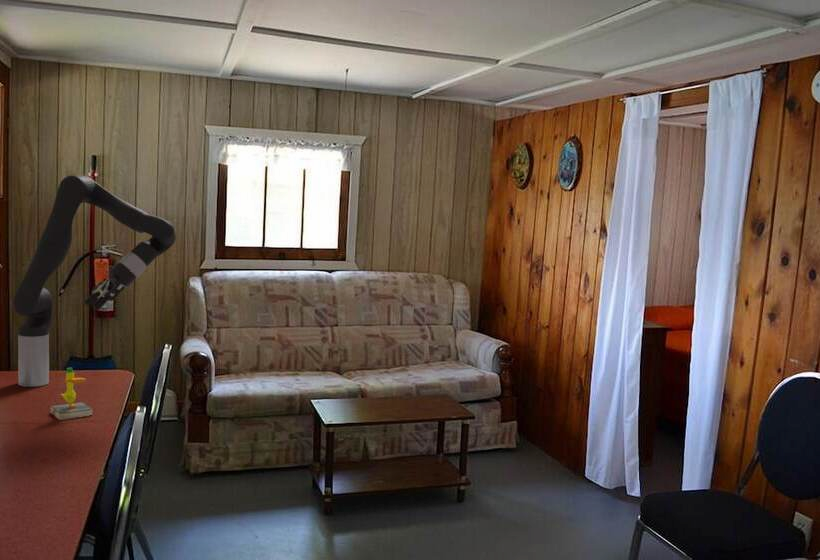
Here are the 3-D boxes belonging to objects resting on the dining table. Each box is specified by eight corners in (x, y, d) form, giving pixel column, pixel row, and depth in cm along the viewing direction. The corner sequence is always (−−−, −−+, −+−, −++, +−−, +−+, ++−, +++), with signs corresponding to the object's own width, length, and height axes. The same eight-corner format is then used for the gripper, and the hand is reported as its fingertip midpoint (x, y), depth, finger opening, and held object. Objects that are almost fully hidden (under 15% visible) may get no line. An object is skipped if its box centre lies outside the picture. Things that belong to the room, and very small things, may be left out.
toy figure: (85, 405, 212) (85, 366, 211) (85, 408, 209) (85, 368, 208) (60, 406, 210) (60, 366, 208) (59, 409, 206) (59, 369, 205)
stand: (50, 412, 210) (50, 406, 209) (82, 408, 216) (82, 401, 215) (59, 420, 203) (59, 413, 203) (92, 415, 209) (92, 408, 209)
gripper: (112, 259, 230) (74, 295, 224) (127, 263, 220) (88, 301, 213) (128, 275, 234) (92, 311, 228) (144, 279, 224) (106, 317, 217)
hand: (90, 306), depth 220 cm, fingers open, 8 cm apart
